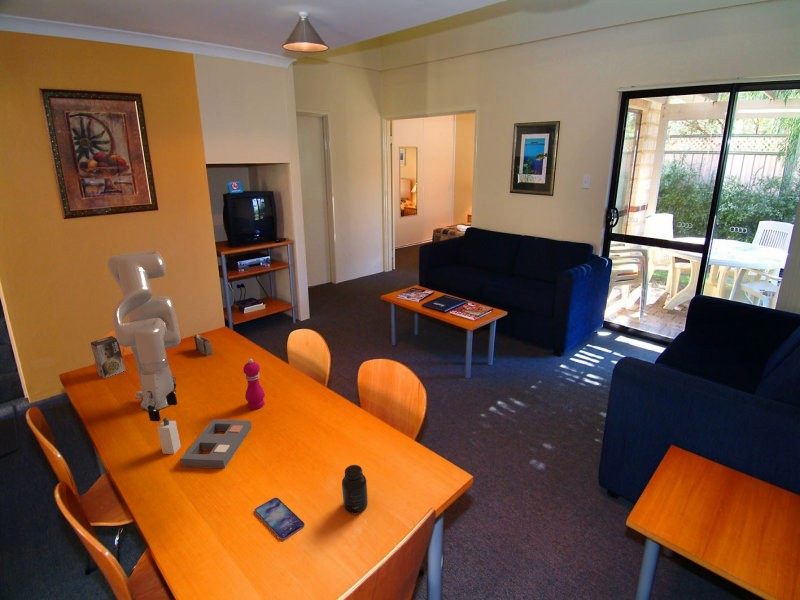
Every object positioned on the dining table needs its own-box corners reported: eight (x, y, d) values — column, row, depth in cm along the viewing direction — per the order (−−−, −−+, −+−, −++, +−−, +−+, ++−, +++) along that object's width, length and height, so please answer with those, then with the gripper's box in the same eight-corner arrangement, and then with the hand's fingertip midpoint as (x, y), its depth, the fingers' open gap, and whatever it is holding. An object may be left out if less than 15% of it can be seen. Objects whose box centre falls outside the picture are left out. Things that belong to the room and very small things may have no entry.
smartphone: (276, 496, 133) (306, 524, 123) (276, 498, 133) (306, 527, 123) (252, 509, 128) (282, 539, 118) (253, 512, 128) (282, 542, 118)
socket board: (182, 466, 147) (180, 457, 145) (214, 426, 167) (212, 418, 166) (224, 468, 145) (223, 459, 144) (251, 427, 166) (250, 419, 165)
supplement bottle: (343, 497, 133) (341, 462, 129) (367, 495, 133) (365, 461, 129) (343, 515, 126) (340, 479, 122) (368, 513, 127) (366, 477, 123)
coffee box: (119, 367, 214) (111, 335, 209) (126, 371, 210) (118, 338, 205) (98, 375, 207) (89, 342, 202) (104, 379, 203) (96, 345, 198)
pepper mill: (268, 400, 184) (263, 355, 177) (261, 410, 177) (255, 363, 171) (251, 400, 184) (245, 354, 178) (243, 409, 178) (237, 363, 171)
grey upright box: (195, 350, 231) (192, 332, 228) (201, 348, 233) (198, 331, 230) (206, 357, 224) (203, 338, 221) (212, 355, 226) (209, 336, 223)
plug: (162, 453, 153) (156, 422, 149) (169, 446, 157) (163, 415, 153) (174, 453, 153) (168, 422, 149) (180, 446, 156) (174, 415, 153)
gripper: (158, 353, 153) (168, 398, 158) (125, 377, 137) (136, 427, 142) (180, 353, 152) (189, 399, 158) (149, 377, 136) (160, 427, 141)
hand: (164, 412), depth 150 cm, fingers open, 9 cm apart
